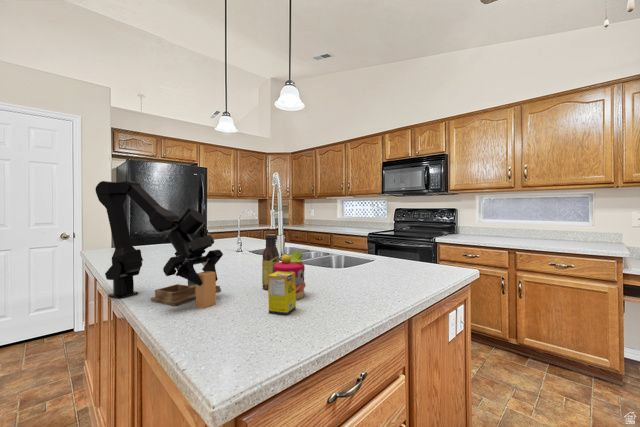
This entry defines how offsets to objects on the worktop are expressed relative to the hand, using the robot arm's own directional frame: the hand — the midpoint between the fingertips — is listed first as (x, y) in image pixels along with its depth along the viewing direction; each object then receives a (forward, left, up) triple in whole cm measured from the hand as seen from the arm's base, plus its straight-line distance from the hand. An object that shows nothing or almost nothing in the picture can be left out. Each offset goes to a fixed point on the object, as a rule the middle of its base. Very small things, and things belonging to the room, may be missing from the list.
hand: (209, 282), depth 92 cm
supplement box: (+23, +6, -7) cm, 25 cm away
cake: (+17, +19, -7) cm, 26 cm away
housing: (-15, +4, -7) cm, 17 cm away
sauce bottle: (+5, +25, -7) cm, 26 cm away
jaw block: (-1, 0, -7) cm, 7 cm away
